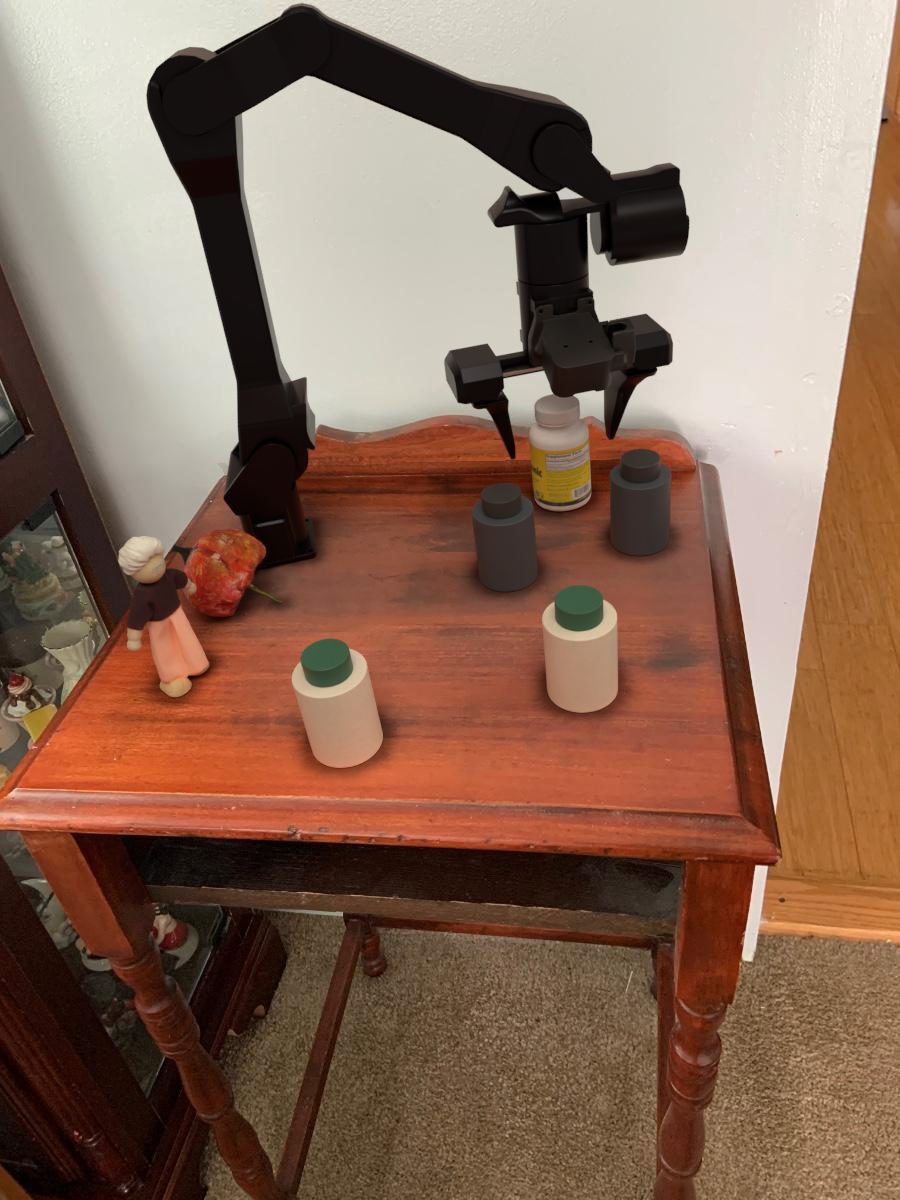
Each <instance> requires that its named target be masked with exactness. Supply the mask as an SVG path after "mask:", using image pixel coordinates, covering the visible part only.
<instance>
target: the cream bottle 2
mask: <svg viewBox="0 0 900 1200" xmlns="http://www.w3.org/2000/svg"><path fill="white" fill-rule="evenodd" d="M541 623H542V624H541V625H542V638H543V639H542V640H543V653H544V665H545V679H546V680H545V681H546V692H547V695H548V697H549V699H550V700H551V702H552V703H553V704H554V705H556V706H557V707H558V708H560V709H562V710H565V711H567V712H571V713H577V714H580V713H581V714H582V713H583V714H585V713H593V712H597V711H600V710H602V709H604V708H606V707H608V706H609V705H610V704H611V703H612V702H614V700H615V699H616V697H617V695H618V692H619V657H618V656H619V655H618V654H619V653H618V651H619V648H618V647H619V646H618V641H619V639H618V636H619V635H618V613H617V611H616V609H615V607H614V606H613V605H612V604H611V603H610V602H609V601H608V600H606V599H604V596H603V594H602V593H601V592H600V591H599V590H598V589H597V588H595V587H592V586H589V585H585V584H584V585H583V584H576V585H569V586H567V587H564V588H563V589H561V590H560V591H558V592H557V593H556V595H555V596H554V601H553V602H551V603H550V604H549V605H547V607H545V609H544V611H543V613H542V615H541Z"/></svg>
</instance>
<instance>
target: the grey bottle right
mask: <svg viewBox="0 0 900 1200" xmlns="http://www.w3.org/2000/svg"><path fill="white" fill-rule="evenodd" d="M661 459H662V458H661V455H660V454H659V453H658V452H657V451H655V450H653V449H649V448H635V449H634V448H633V449H631V450H627V451H626V452H624V453H623V454H621V456H620V460H619V461H620V462H619V464H617V465H616V466H614V467H612V469H611V471H610V472H609V523H610V524H609V525H610V526H609V527H610V528H609V529H610V530H609V531H610V534H609V535H610V544H611V546H612V547H613V548H614V549H615V550H617V551H618V552H620V553H622V554H625V555H629V556H635V557H636V556H637V557H638V556H639V557H641V556H642V557H644V556H650V555H654V554H657V553H660V552H661V551H663V550H664V549H665V548H667V547H668V545H669V543H670V537H671V535H670V531H671V505H672V504H671V503H672V502H671V501H672V500H671V498H672V471H671V469H670V468H669V467H668V466H667V465H666V464H664V463H662V462H661Z"/></svg>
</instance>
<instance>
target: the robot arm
mask: <svg viewBox="0 0 900 1200" xmlns="http://www.w3.org/2000/svg"><path fill="white" fill-rule="evenodd" d="M305 77H311V78H315V79H317V80H319V81H322V82H324V83H328V84H330V85H332V86H334V87H337V88H339V89H341V90H343V91H347V92H348V93H351V94H354V95H356V96H358V97H361V98H363V99H366V100H369V101H370V102H373V103H376V104H377V105H381V106H382V107H385V108H388V109H390V110H392V111H395V112H397V113H399V114H402V115H404V116H407V117H409V118H411V119H414V120H416V121H419V122H421V123H424V124H427V125H428V126H431V127H433V128H435V129H438V130H440V131H443V132H445V133H448V134H450V135H453V136H455V137H458V138H460V139H462V140H463V141H464V142H466V143H468V144H469V145H470V146H472V147H473V148H474V149H476V150H478V151H479V152H481V153H482V154H483V155H485V156H486V157H488V158H489V159H491V160H492V161H493V162H495V163H496V164H497V165H499V166H500V167H502V168H504V169H505V170H506V171H507V172H510V173H511V174H512V175H514V176H515V177H517V178H519V179H520V180H522V181H523V182H525V183H526V184H528V185H529V186H531V187H532V188H534V189H536V190H538V191H541V192H535V193H528V194H521V195H519V194H518V193H516V192H515V191H514V189H513V188H512V187H511V186H510V185H506V186H504V187H503V188H502V189H503V190H502V192H501V194H500V196H499V197H498V198H497V199H496V200H495V202H494V203H493V204H492V205H491V206H489V208H488V209H487V213H486V214H487V216H488V218H489V219H490V221H491V222H492V224H493V226H494V227H495V228H497V229H501V228H506V227H512V226H513V231H514V232H513V233H514V246H515V260H516V274H517V281H516V282H515V285H516V294H517V296H518V301H519V315H520V316H519V317H520V329H519V339H520V342H521V343H522V350H521V351H516V352H509V353H505V354H500V355H496V354H495V353H494V351H493V349H492V348H491V346H490V344H489V343H482V344H477V345H473V346H467V347H462V348H455V349H450V350H449V351H448V353H447V354H446V356H445V358H444V361H443V365H444V372H445V380H446V382H447V385H448V387H449V388H450V390H451V392H452V394H453V396H454V398H455V400H456V402H457V404H462V405H470V404H471V406H472V408H473V409H475V410H486V411H487V413H488V415H489V416H490V417H491V419H492V421H493V423H494V426H495V428H496V430H497V433H498V434H499V437H500V438H501V441H502V443H503V445H504V447H505V450H506V452H507V455H508V456H509V458H510V460H516V458H517V454H516V451H517V450H516V442H515V437H514V432H513V427H512V422H511V417H510V412H509V404H510V400H509V398H508V397H507V395H506V394H505V392H504V389H505V381H504V379H509V378H514V377H519V376H525V375H530V374H535V373H540V372H544V374H545V376H546V380H547V382H548V384H549V389H550V390H551V392H552V394H554V395H556V396H558V397H561V398H567V397H572V396H575V395H577V394H582V393H587V392H602V391H603V421H604V428H605V436H606V438H607V439H608V440H609V441H612V440H614V439H615V437H616V436H617V432H618V429H619V427H620V424H621V422H622V419H623V416H624V414H625V411H626V408H627V406H628V404H629V401H630V399H631V398H632V395H633V393H634V391H635V389H636V388H637V386H638V385H639V384H640V383H642V382H643V381H644V380H645V379H647V378H650V377H653V376H655V375H656V374H657V372H658V368H660V367H666V366H670V364H671V363H673V362H674V361H673V360H674V359H673V358H674V357H673V356H674V342H673V338H672V335H671V333H669V332H668V330H667V329H665V328H664V327H663V326H661V324H659V323H658V322H657V321H656V320H655V319H654V318H653V317H651V316H650V315H649V314H648V313H641V314H636V315H631V316H625V317H620V318H615V319H610V320H603V321H600V319H599V317H598V314H597V312H596V306H595V305H596V304H595V299H594V290H592V289H591V288H590V274H589V273H590V269H589V268H590V266H589V265H590V264H589V234H590V240H591V246H592V249H593V252H594V253H595V255H597V256H600V255H605V260H606V262H607V264H608V265H609V266H612V267H614V266H622V265H628V264H635V263H640V262H646V261H653V260H659V259H665V258H671V257H679V256H682V255H683V254H684V253H685V251H686V248H687V247H688V246H687V245H688V240H689V237H690V236H689V235H690V216H689V214H687V205H686V198H685V194H684V190H683V188H682V185H681V169H680V168H679V167H678V166H677V165H675V164H673V163H672V162H665V163H659V164H654V165H652V166H650V167H647V168H644V169H637V170H631V171H623V172H618V173H612V171H611V170H610V169H608V168H607V167H606V166H604V165H603V164H602V163H601V162H600V160H599V159H598V158H597V157H596V155H594V153H593V135H592V131H591V127H590V125H589V122H588V120H587V119H586V118H585V116H584V115H583V114H582V113H580V112H579V111H577V110H576V109H575V108H573V107H571V106H570V105H569V104H567V103H565V102H564V101H562V100H561V99H559V98H558V97H556V96H554V95H550V94H547V93H542V92H539V91H532V90H528V89H525V88H524V89H523V88H520V87H515V86H510V85H502V84H496V83H491V82H490V83H489V82H484V81H481V80H475V79H472V78H470V77H467V76H465V75H463V74H460V73H458V72H455V71H453V70H451V69H449V68H446V67H444V66H442V65H439V64H437V63H435V62H433V61H430V60H428V59H426V58H424V57H421V56H419V55H417V54H414V53H412V52H410V51H408V50H405V49H403V48H401V47H399V46H396V45H394V44H392V43H390V42H387V41H385V40H383V39H380V38H379V37H376V36H373V35H371V34H369V33H367V32H364V31H362V30H360V29H357V28H355V27H353V26H351V25H348V24H347V23H344V22H342V21H339V20H337V19H335V18H332V17H330V16H328V14H325V13H324V12H322V10H320V9H319V8H318V7H316V6H315V5H313V4H308V3H304V2H299V3H295V4H292V5H290V6H289V7H287V8H286V9H284V10H283V11H282V13H281V14H280V15H279V16H277V17H275V18H273V19H272V20H270V21H268V22H267V23H263V24H262V25H261V26H259V27H257V28H255V29H253V30H251V31H249V32H247V33H245V34H243V35H241V36H239V37H238V38H236V39H234V40H232V41H230V42H228V43H227V44H224V45H223V46H221V47H219V48H217V49H216V50H214V51H212V50H210V49H207V48H205V47H199V46H188V47H185V48H182V49H177V51H175V52H174V53H172V54H171V55H170V56H169V57H168V58H166V59H165V60H164V61H163V62H162V63H160V64H159V65H158V66H157V67H156V68H155V70H154V72H153V73H152V75H151V76H150V79H149V81H148V84H147V86H146V87H147V88H146V93H145V94H146V95H145V97H146V106H147V111H148V114H149V117H150V119H151V122H152V124H153V126H154V129H155V132H156V134H157V136H158V139H159V140H160V142H161V145H162V148H163V150H164V152H165V154H166V157H167V159H168V162H169V164H170V165H171V167H172V170H173V171H174V172H175V175H176V176H177V178H178V180H179V182H180V183H181V186H182V187H183V189H184V191H185V193H186V195H187V196H188V198H189V201H190V202H191V205H192V209H193V213H194V217H195V220H196V225H197V228H198V232H199V237H200V241H201V244H202V248H203V252H204V256H205V261H206V263H207V264H206V265H207V269H208V272H209V275H210V276H209V277H210V280H211V285H212V288H213V293H214V297H215V301H216V305H217V308H218V313H219V317H220V320H221V324H222V329H223V332H224V337H225V341H226V344H227V349H228V353H229V357H230V361H231V364H232V369H233V373H234V377H235V381H236V402H237V403H236V406H237V407H236V413H237V416H236V418H237V420H236V421H237V438H238V441H237V443H236V445H235V446H233V449H232V450H231V452H230V455H229V461H228V465H227V466H228V467H227V472H226V479H225V484H224V485H225V486H224V491H223V497H222V499H223V501H224V503H225V504H226V505H227V506H228V507H229V509H230V510H231V512H232V513H233V514H234V515H235V516H237V517H238V518H239V521H240V524H241V528H242V531H243V532H245V533H247V534H249V535H251V536H253V537H255V539H257V540H258V541H260V542H261V543H262V544H263V545H264V547H265V548H266V555H265V557H264V559H263V560H262V562H261V563H260V564H259V565H258V566H257V567H256V569H255V570H257V569H261V568H266V567H271V566H276V565H281V564H285V563H291V562H295V561H301V560H305V559H309V558H313V557H315V556H317V547H316V545H317V544H316V540H315V539H316V538H315V532H314V525H313V520H312V518H311V517H306V516H305V513H304V508H303V505H302V501H301V496H300V492H299V489H298V488H299V487H298V484H297V480H299V479H301V477H302V476H303V474H304V473H305V472H306V471H307V470H308V467H309V460H310V459H309V456H310V455H309V451H310V450H311V451H315V450H316V414H315V413H314V412H313V410H312V408H311V406H310V403H309V400H308V378H307V377H306V376H303V377H300V378H297V379H294V380H292V379H291V377H290V375H289V373H288V372H287V370H286V368H285V366H284V364H283V361H282V358H281V354H280V349H279V345H278V339H277V334H276V331H275V326H274V325H275V324H274V321H273V316H272V311H271V307H270V303H269V298H268V294H267V289H266V284H265V279H264V274H263V270H262V265H261V261H260V256H259V252H258V247H257V242H256V238H255V232H254V228H253V223H252V220H251V219H252V218H251V214H250V209H249V205H248V201H247V195H246V192H245V174H244V171H245V170H244V169H245V167H244V166H245V165H244V128H243V126H244V125H243V113H245V112H247V111H250V110H251V109H253V108H254V107H256V106H258V105H259V104H261V103H264V101H266V100H268V99H269V98H271V97H272V96H275V95H276V94H277V93H279V92H280V91H283V90H284V89H286V88H287V87H289V86H291V85H292V84H294V83H296V82H297V81H300V80H301V79H303V78H305ZM564 189H567V190H569V191H571V192H573V193H575V194H577V195H578V196H580V197H575V198H565V199H561V197H560V196H559V194H558V192H560V191H562V190H564ZM588 215H589V228H588Z"/></svg>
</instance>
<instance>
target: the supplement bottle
mask: <svg viewBox="0 0 900 1200" xmlns="http://www.w3.org/2000/svg"><path fill="white" fill-rule="evenodd" d="M580 403H581V402H580V400H579V398H577V397H576V396H575V395H573V396H572V397H567V398H561V397H558V396H556V395H554V394H553V393H552V394H547V395H544V396H542V397H539V398H538V399H537V400H536V401H535V403H534V406H533V407H534V420H535V422H534V423H533V425H532V426H531V428H530V429H529V433H528V443H529V455H530V467H531V477H532V489H533V490H532V491H533V497H534V501H535V503H536V504H537V505H538V506H539V507H540V508H542V509H544V510H547V511H551V512H568V511H573V510H577V509H580V508H582V507H584V506H585V505H586V504H587V503H588V502H589V501H590V500H591V496H592V478H591V477H592V474H591V473H592V472H591V454H590V453H591V452H590V432H589V431H590V430H589V427H588V426H589V425H588V424H587V423H586V422H585V421H584V420H583V419H582V418H580V417H581V405H580Z"/></svg>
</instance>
